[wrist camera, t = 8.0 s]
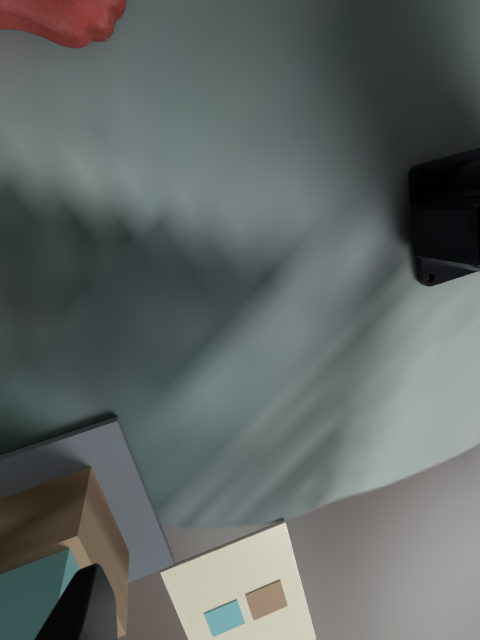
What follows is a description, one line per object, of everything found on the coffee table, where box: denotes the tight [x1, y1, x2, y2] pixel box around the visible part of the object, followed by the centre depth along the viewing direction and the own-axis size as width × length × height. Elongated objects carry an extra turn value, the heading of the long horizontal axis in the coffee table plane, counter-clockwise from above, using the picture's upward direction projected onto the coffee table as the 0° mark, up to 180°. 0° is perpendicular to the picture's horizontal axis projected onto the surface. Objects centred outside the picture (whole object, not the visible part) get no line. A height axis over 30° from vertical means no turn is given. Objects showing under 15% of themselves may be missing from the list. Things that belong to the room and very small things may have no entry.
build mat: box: [0, 416, 174, 583], centre depth 21 cm, size 10×10×1 cm
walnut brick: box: [0, 467, 129, 638], centre depth 18 cm, size 6×6×4 cm
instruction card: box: [160, 520, 316, 640], centre depth 26 cm, size 8×11×1 cm
